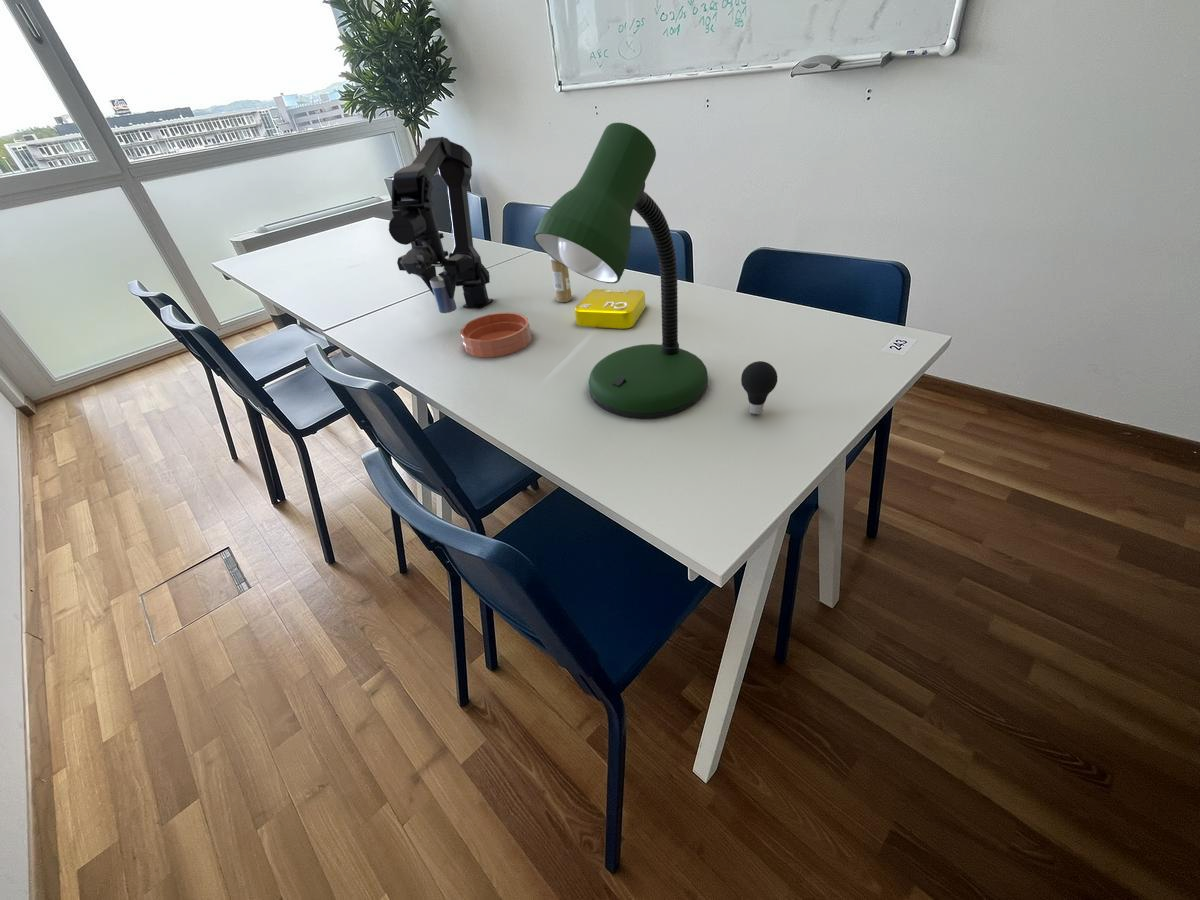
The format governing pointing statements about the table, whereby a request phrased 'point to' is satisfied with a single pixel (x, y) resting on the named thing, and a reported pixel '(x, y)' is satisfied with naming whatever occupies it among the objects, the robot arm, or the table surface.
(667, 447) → the table surface
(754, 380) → the light bulb
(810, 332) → the table surface
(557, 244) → the desk lamp
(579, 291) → the table surface
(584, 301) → the element tile
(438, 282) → the salt shaker
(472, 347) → the bowl
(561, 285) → the sprinkles bottle
